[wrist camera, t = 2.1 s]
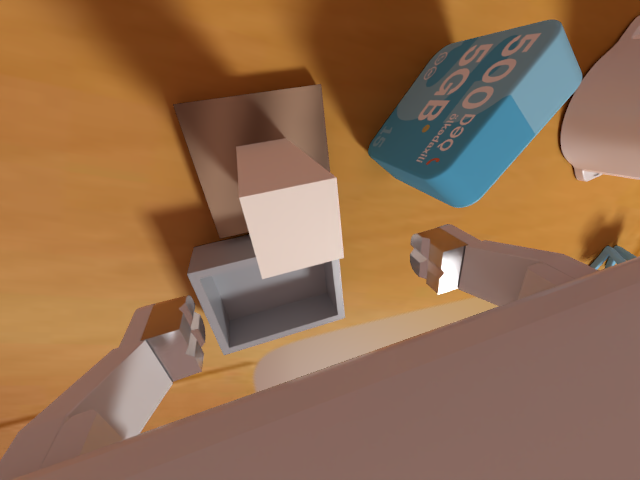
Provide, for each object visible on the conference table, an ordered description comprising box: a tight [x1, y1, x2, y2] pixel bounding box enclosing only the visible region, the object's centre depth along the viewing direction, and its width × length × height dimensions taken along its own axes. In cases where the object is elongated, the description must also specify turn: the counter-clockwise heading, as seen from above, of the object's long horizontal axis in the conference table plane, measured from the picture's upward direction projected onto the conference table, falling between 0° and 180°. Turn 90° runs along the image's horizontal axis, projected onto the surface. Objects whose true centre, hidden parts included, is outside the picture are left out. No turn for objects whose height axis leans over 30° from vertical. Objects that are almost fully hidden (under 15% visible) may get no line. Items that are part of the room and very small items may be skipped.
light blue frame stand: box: [590, 245, 636, 269], centre depth 46 cm, size 8×8×12 cm
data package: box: [368, 20, 582, 208], centre depth 23 cm, size 12×4×12 cm, turn 143°
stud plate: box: [173, 84, 330, 238], centre depth 24 cm, size 12×12×4 cm
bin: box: [187, 234, 345, 355], centre depth 30 cm, size 14×11×5 cm
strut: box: [236, 138, 344, 279], centre depth 19 cm, size 4×4×14 cm
